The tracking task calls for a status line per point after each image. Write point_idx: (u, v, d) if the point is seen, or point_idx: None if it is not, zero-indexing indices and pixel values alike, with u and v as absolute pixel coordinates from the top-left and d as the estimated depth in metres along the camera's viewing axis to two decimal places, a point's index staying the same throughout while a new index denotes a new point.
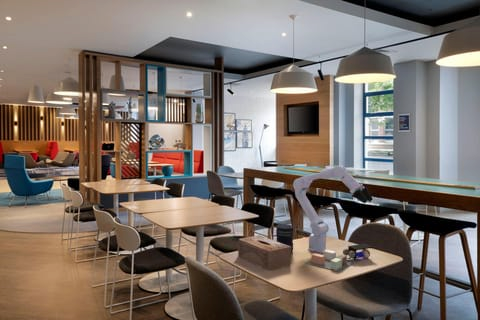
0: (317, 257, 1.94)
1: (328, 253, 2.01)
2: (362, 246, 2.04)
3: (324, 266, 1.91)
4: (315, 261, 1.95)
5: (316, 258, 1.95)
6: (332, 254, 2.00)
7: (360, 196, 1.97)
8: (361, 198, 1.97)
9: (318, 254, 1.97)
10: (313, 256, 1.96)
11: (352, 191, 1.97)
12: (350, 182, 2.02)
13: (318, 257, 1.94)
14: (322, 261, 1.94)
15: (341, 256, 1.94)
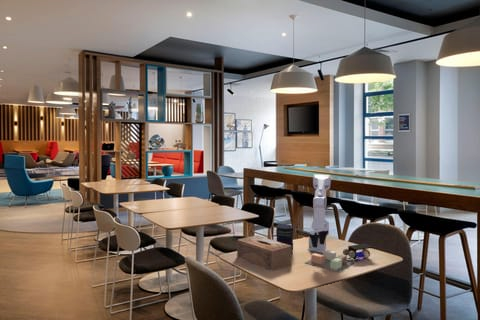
0: (317, 257, 1.94)
1: (328, 253, 2.01)
2: (362, 246, 2.04)
3: (324, 266, 1.91)
4: (315, 261, 1.95)
5: (316, 258, 1.95)
6: (332, 254, 2.00)
7: (314, 239, 1.92)
8: (314, 241, 1.92)
9: (318, 254, 1.97)
10: (313, 256, 1.96)
11: (311, 233, 1.90)
12: (318, 221, 1.92)
13: (318, 257, 1.94)
14: (322, 261, 1.94)
15: (341, 256, 1.94)
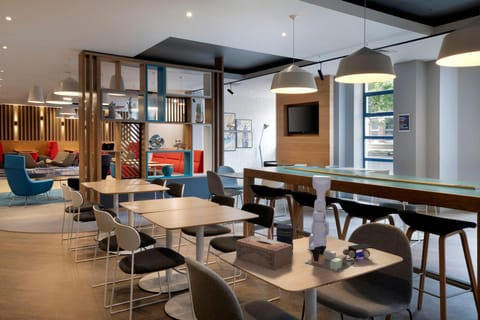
0: None
1: (328, 253, 2.01)
2: (362, 246, 2.04)
3: (324, 266, 1.91)
4: (315, 261, 1.95)
5: None
6: (332, 254, 2.00)
7: (316, 253, 1.94)
8: (315, 255, 1.94)
9: None
10: None
11: (311, 247, 1.90)
12: (317, 236, 1.93)
13: None
14: (322, 261, 1.94)
15: (341, 256, 1.94)
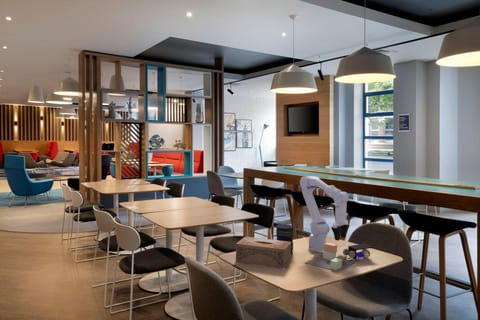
0: (330, 246, 2.01)
1: (328, 253, 2.01)
2: (362, 246, 2.04)
3: (324, 266, 1.91)
4: (328, 250, 2.01)
5: (328, 247, 2.01)
6: (332, 254, 2.00)
7: (337, 233, 2.02)
8: (336, 235, 2.02)
9: None
10: (326, 245, 2.02)
11: (334, 226, 1.99)
12: (340, 215, 2.02)
13: (331, 246, 2.00)
14: (335, 250, 2.00)
15: (341, 256, 1.94)
